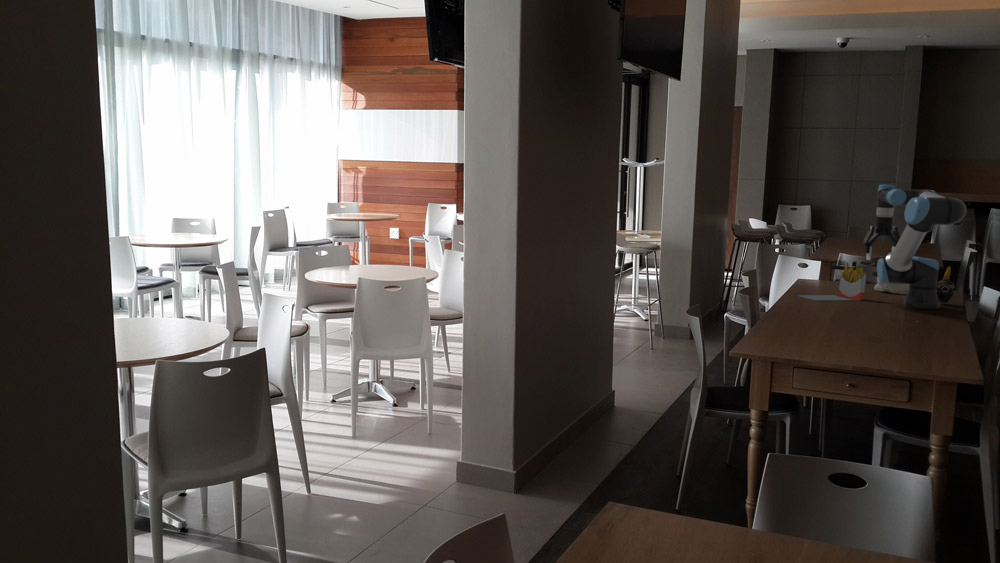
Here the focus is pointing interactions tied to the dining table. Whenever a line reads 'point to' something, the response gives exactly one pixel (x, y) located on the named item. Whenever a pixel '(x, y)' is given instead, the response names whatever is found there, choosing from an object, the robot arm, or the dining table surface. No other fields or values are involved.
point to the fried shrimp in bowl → (945, 287)
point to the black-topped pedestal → (842, 268)
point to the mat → (825, 298)
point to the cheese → (891, 287)
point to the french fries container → (852, 284)
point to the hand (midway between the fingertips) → (880, 260)
